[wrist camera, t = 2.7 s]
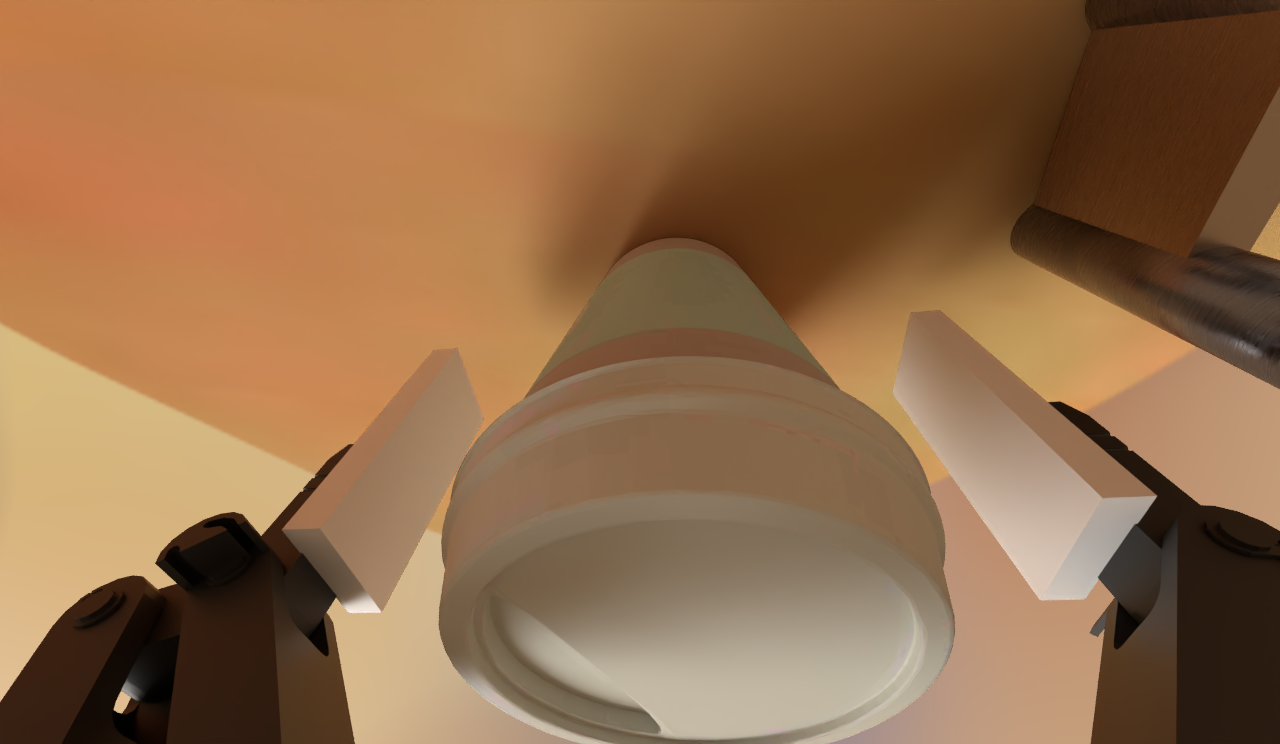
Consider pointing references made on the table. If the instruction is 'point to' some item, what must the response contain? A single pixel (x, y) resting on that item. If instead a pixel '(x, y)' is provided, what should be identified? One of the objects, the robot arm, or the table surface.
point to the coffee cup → (692, 530)
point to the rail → (1171, 173)
